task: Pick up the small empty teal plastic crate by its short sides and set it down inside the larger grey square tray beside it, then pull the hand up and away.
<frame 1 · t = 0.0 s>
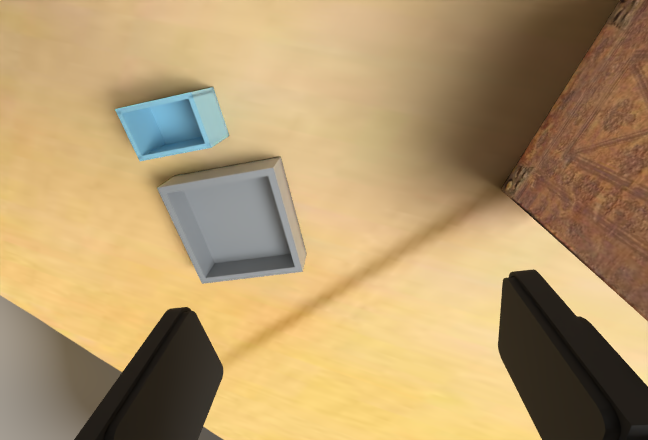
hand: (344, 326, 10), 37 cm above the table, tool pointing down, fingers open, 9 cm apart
teal crate: (188, 119, 44), on the table
grey square tray: (243, 216, 50), on the table
book: (587, 112, 40), on the table
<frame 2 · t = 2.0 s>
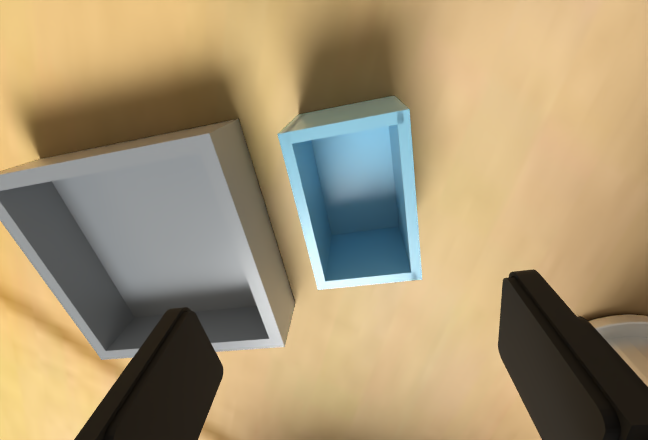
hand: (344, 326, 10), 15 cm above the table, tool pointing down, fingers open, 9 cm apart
teal crate: (356, 175, 23), on the table
grey square tray: (178, 237, 27), on the table
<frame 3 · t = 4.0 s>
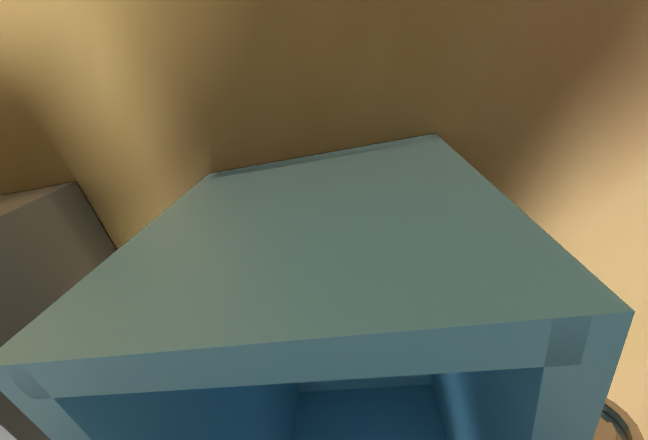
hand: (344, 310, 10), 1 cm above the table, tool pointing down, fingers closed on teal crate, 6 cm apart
teal crate: (345, 292, 11), on the table, touching gripper
grey square tray: (21, 377, 15), on the table
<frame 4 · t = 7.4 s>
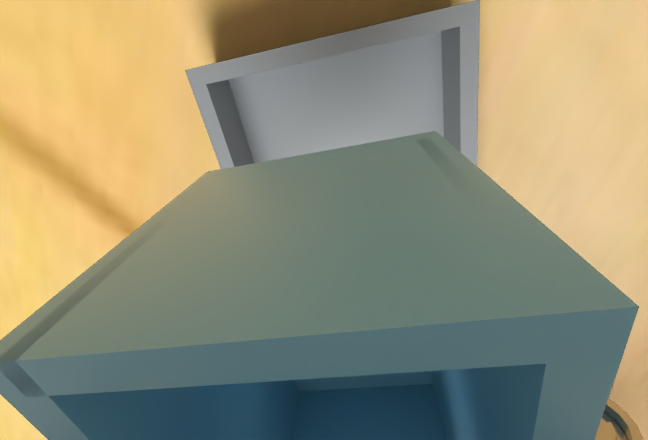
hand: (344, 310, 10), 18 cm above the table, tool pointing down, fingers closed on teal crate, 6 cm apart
teal crate: (344, 291, 11), point 17 cm above the table, touching gripper
grey square tray: (347, 157, 26), on the table
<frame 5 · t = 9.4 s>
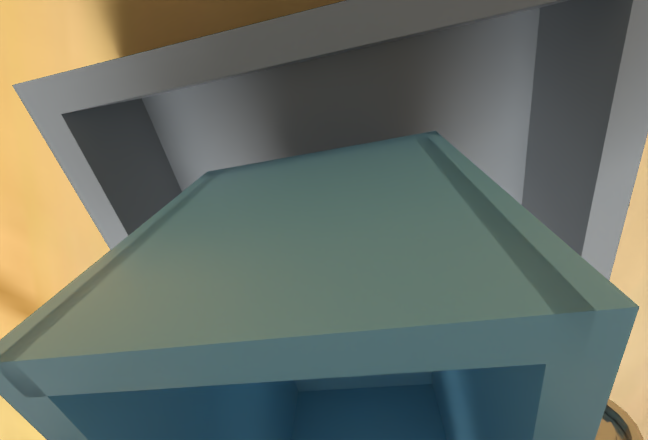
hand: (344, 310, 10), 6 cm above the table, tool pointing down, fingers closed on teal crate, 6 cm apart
teal crate: (344, 291, 11), point 5 cm above the table, touching gripper
grey square tray: (351, 221, 16), on the table
when the fingers open (3 cm above the table, at t = 11.0 s): teal crate drops 1 cm, resting on grey square tray.
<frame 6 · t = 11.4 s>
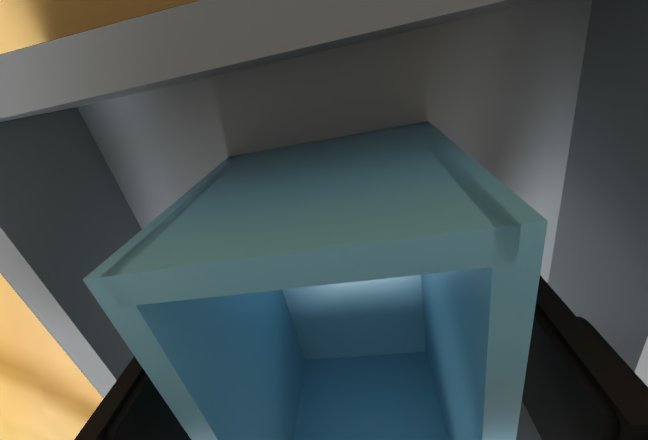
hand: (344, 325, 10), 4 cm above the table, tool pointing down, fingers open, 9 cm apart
teal crate: (348, 266, 12), point 1 cm above the table, touching grey square tray
grey square tray: (345, 253, 13), on the table
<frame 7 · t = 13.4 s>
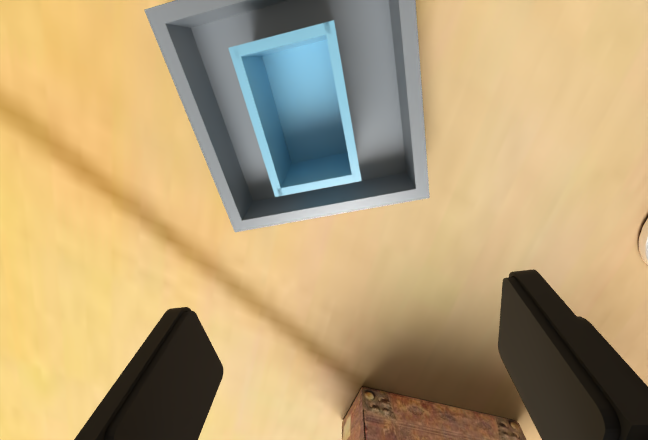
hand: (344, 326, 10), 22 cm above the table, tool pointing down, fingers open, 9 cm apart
teal crate: (309, 105, 26), point 1 cm above the table, touching grey square tray
grey square tray: (309, 104, 27), on the table
book: (427, 419, 49), on the table
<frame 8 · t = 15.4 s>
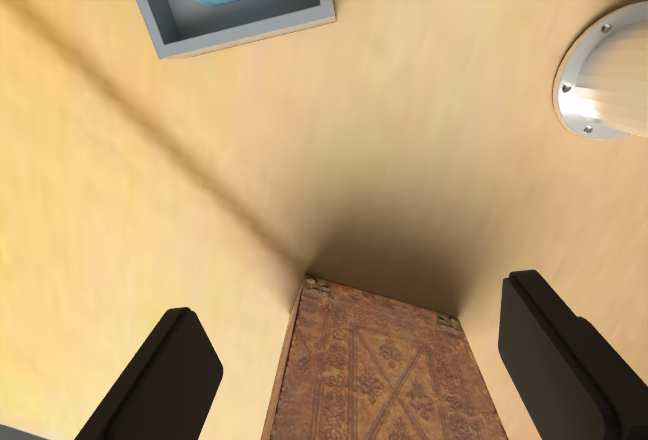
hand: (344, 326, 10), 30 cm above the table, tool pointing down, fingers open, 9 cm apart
book: (372, 316, 50), on the table
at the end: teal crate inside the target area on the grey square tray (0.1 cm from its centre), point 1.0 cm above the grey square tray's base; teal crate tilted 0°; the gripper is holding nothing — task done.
